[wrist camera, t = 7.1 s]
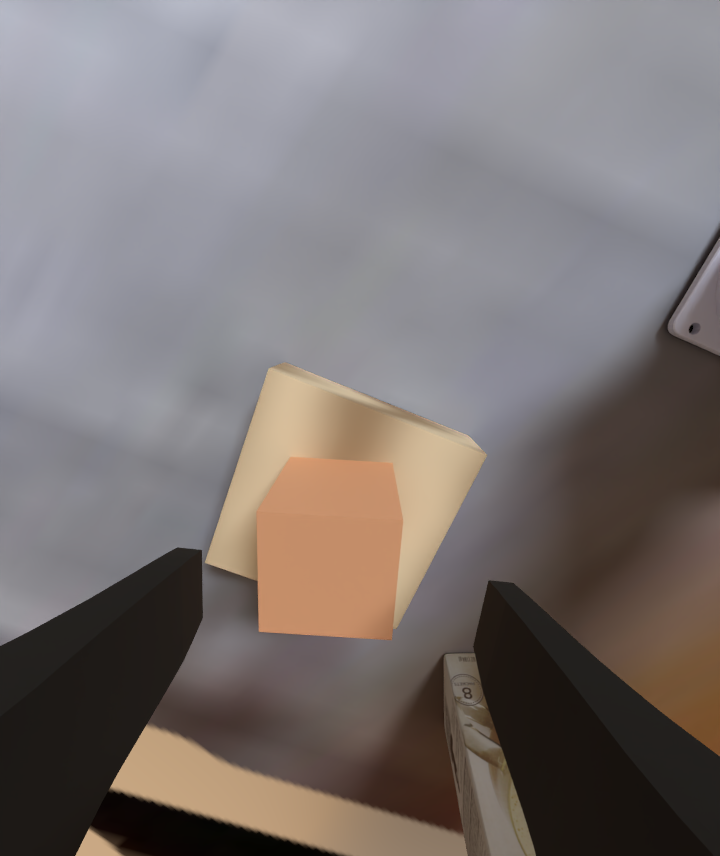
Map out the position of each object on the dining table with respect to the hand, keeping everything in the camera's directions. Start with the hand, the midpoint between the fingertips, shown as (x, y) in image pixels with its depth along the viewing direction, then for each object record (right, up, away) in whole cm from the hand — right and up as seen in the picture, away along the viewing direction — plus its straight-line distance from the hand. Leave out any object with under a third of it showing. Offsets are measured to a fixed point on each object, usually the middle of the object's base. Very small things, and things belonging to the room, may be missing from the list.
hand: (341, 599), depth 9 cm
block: (0, +1, +7) cm, 7 cm away
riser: (0, +1, +10) cm, 10 cm away
